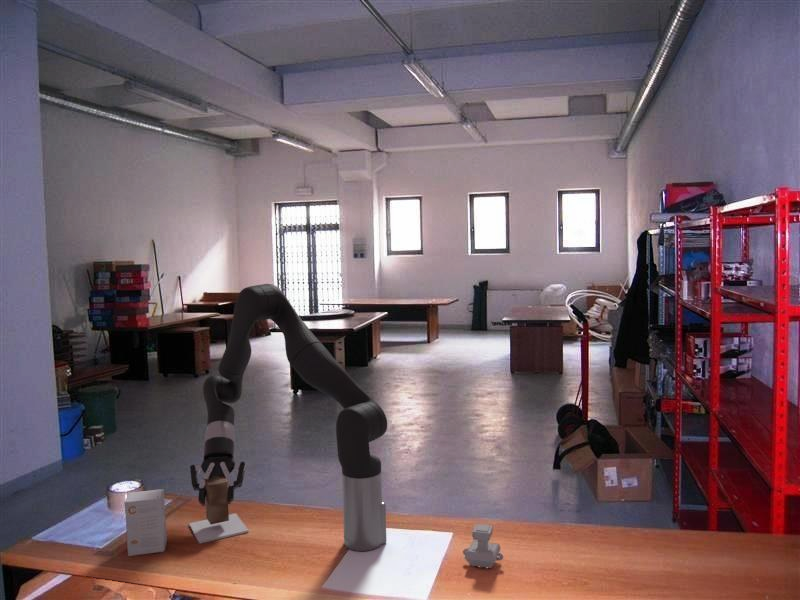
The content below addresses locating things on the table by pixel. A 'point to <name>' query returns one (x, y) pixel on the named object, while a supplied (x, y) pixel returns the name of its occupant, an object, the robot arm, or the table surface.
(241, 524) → the grey mat
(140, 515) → the small box
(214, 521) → the walnut block
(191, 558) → the table surface
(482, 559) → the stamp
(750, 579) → the table surface
